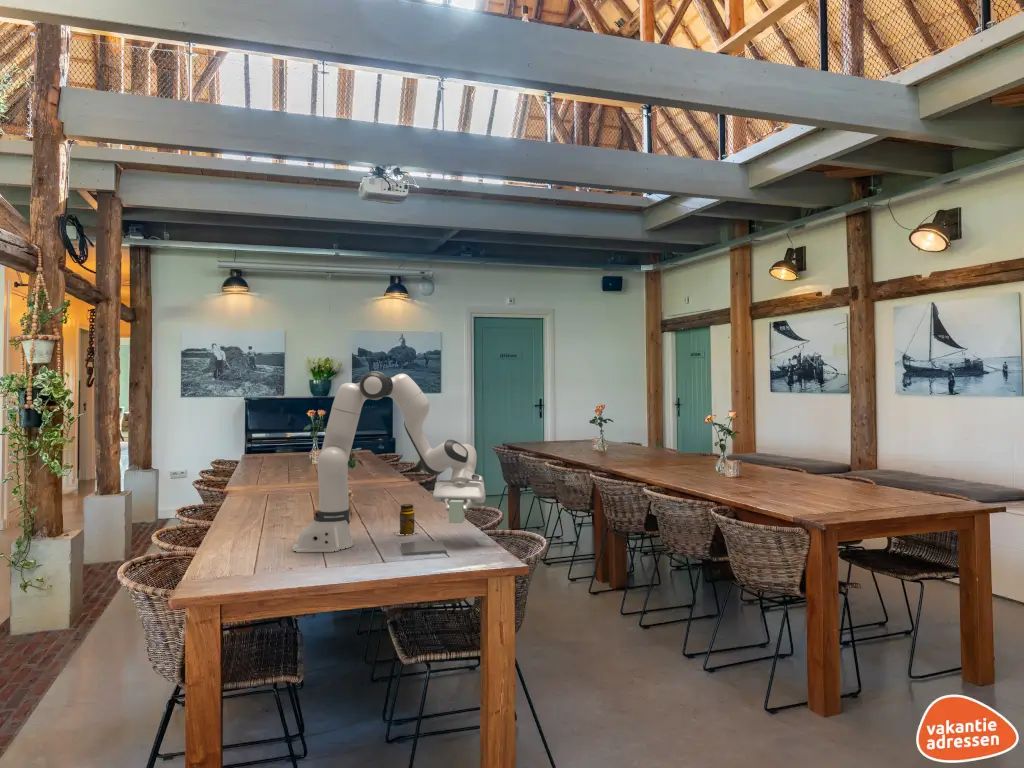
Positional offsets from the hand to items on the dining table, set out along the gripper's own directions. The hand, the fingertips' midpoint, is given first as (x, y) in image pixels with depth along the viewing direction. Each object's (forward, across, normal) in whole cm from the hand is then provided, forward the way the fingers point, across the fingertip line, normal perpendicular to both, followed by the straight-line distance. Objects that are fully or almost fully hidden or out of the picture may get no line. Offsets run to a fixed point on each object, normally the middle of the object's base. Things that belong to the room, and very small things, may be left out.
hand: (456, 510), depth 260 cm
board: (+12, -12, +9) cm, 19 cm away
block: (+3, 0, +4) cm, 4 cm away
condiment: (-6, -27, +28) cm, 39 cm away
